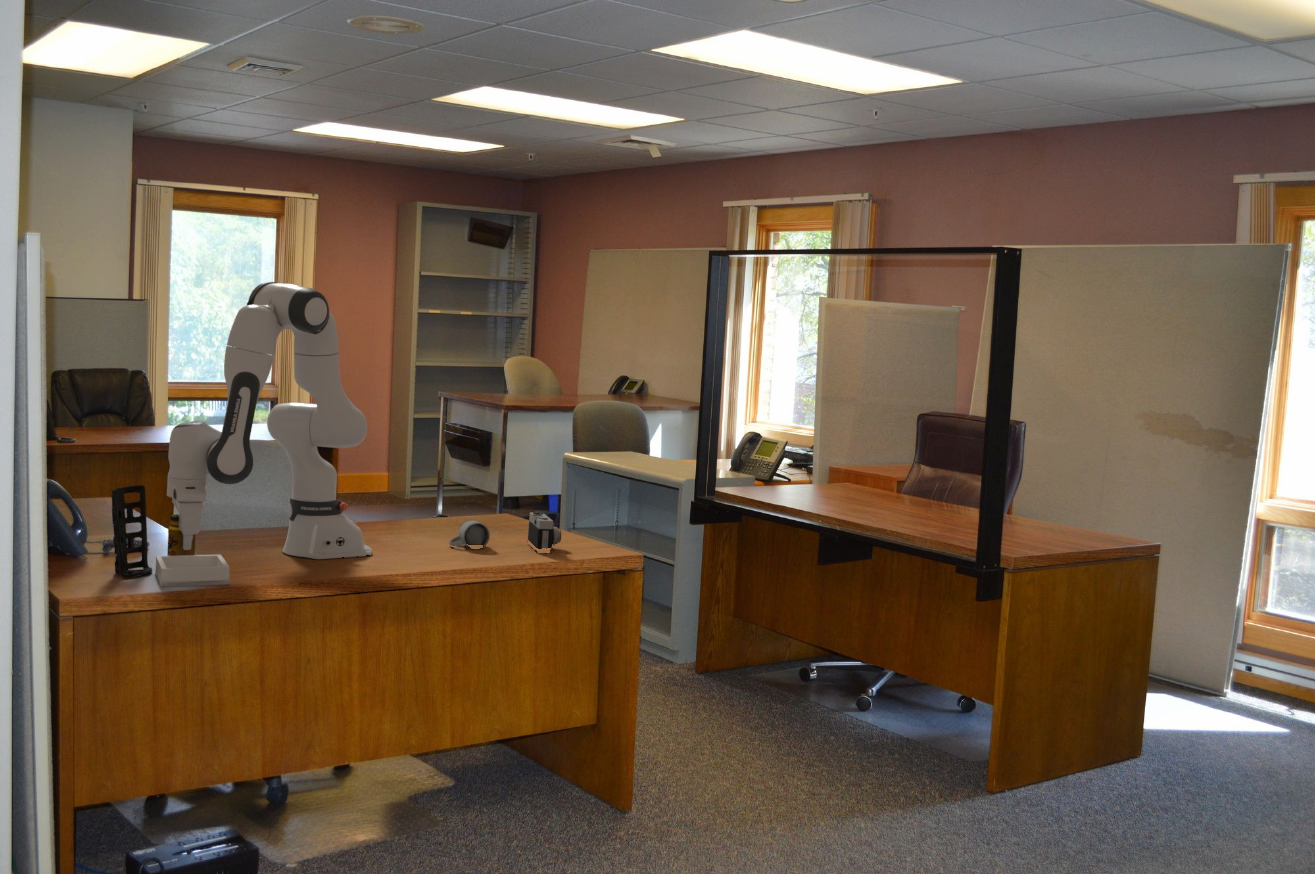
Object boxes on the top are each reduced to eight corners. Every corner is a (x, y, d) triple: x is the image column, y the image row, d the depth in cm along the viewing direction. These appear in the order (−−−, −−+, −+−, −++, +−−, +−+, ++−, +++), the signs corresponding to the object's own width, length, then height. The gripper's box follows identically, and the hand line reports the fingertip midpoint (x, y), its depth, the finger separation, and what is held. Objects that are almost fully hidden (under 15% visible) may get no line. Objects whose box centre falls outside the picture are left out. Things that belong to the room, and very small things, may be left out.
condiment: (158, 565, 268) (160, 515, 267) (186, 559, 276) (188, 511, 275) (181, 569, 265) (183, 519, 264) (209, 564, 273) (211, 515, 272)
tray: (220, 571, 267) (220, 554, 266) (228, 584, 254) (229, 566, 254) (155, 573, 260) (156, 555, 260) (161, 586, 248) (161, 568, 247)
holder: (140, 578, 252) (135, 490, 251) (105, 580, 252) (99, 491, 250) (158, 569, 263) (153, 484, 262) (124, 570, 263) (119, 485, 261)
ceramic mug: (482, 544, 325) (483, 517, 324) (489, 549, 317) (490, 522, 316) (445, 544, 320) (446, 518, 320) (452, 550, 313) (453, 523, 312)
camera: (564, 554, 319) (567, 519, 318) (535, 554, 316) (538, 518, 316) (553, 544, 332) (556, 511, 331) (526, 544, 330) (528, 510, 329)
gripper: (168, 482, 276) (166, 538, 277) (177, 495, 258) (175, 555, 259) (196, 482, 279) (193, 537, 280) (207, 495, 261) (204, 554, 263)
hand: (184, 546), depth 270 cm, fingers closed on condiment, 6 cm apart
